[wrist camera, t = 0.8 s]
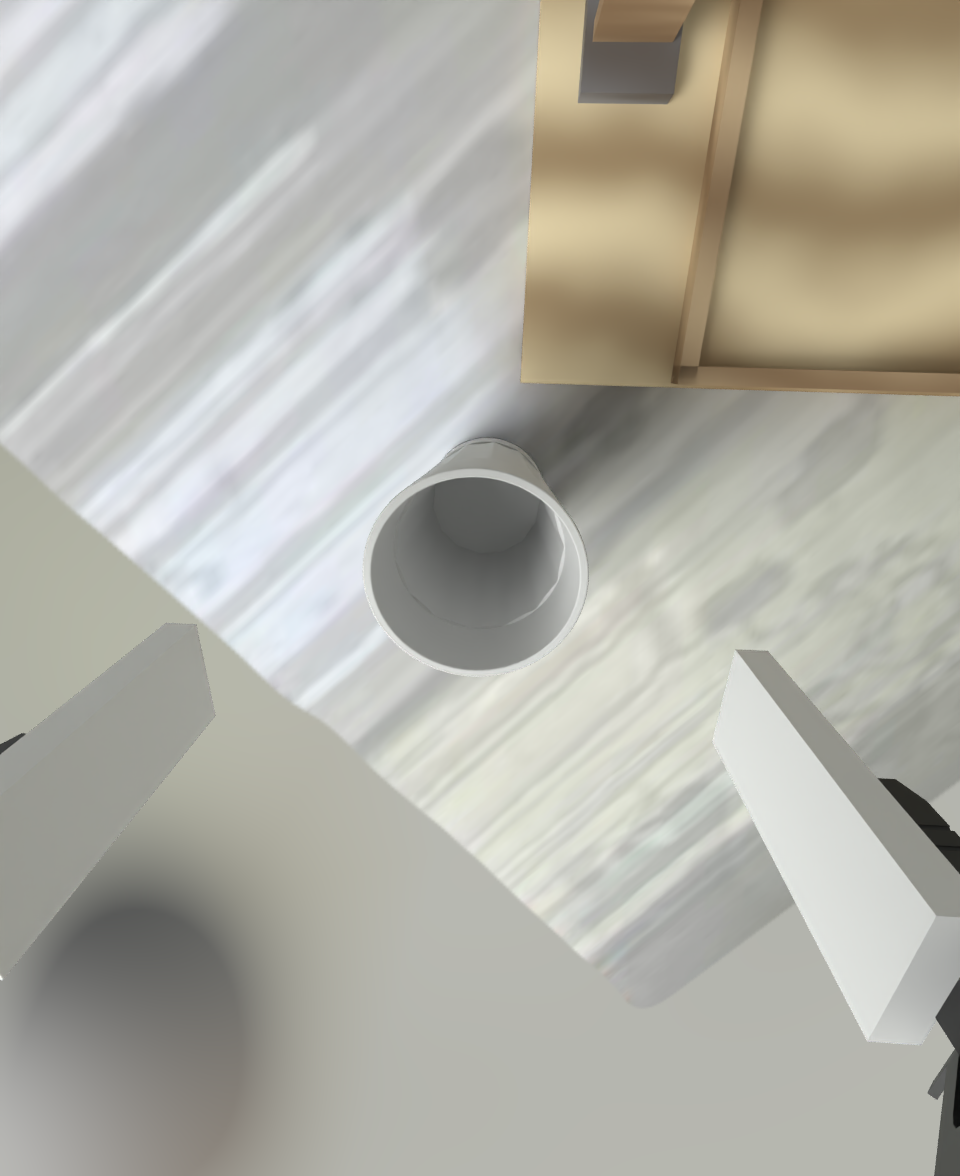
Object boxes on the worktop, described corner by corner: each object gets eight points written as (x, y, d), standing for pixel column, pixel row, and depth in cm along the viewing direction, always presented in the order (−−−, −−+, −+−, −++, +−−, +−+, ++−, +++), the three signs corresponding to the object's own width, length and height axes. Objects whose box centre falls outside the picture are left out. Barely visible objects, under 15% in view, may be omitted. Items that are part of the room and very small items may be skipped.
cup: (563, 421, 28) (597, 467, 17) (555, 563, 31) (581, 679, 20) (411, 421, 29) (350, 467, 18) (419, 562, 32) (372, 675, 21)
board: (543, -60, 21) (576, -448, 11) (1161, -59, 20) (1833, -477, 10) (520, 381, 27) (526, 401, 17) (986, 395, 27) (1283, 425, 16)
